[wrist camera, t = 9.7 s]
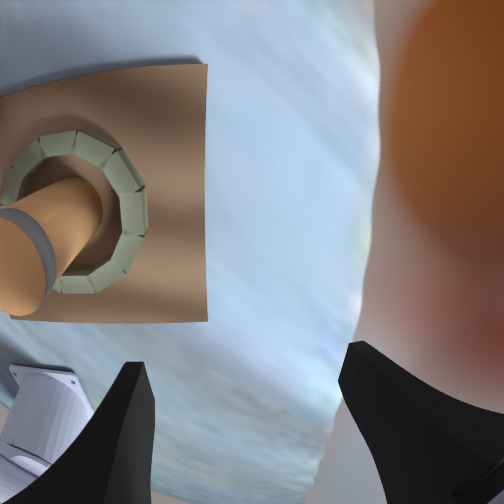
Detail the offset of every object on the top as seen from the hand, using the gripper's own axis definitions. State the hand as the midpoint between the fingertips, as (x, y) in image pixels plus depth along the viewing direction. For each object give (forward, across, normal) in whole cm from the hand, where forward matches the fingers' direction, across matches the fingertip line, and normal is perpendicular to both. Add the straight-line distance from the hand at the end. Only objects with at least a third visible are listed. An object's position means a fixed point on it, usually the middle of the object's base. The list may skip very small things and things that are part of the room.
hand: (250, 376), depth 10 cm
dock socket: (+10, +9, -4) cm, 14 cm away
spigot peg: (+10, +9, -4) cm, 14 cm away
